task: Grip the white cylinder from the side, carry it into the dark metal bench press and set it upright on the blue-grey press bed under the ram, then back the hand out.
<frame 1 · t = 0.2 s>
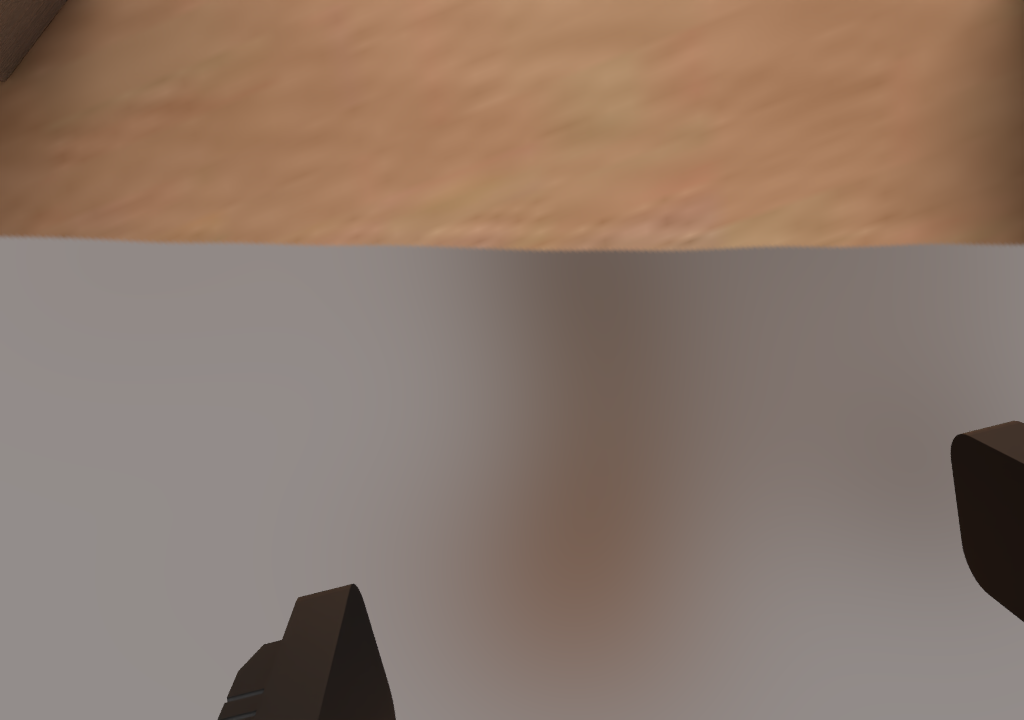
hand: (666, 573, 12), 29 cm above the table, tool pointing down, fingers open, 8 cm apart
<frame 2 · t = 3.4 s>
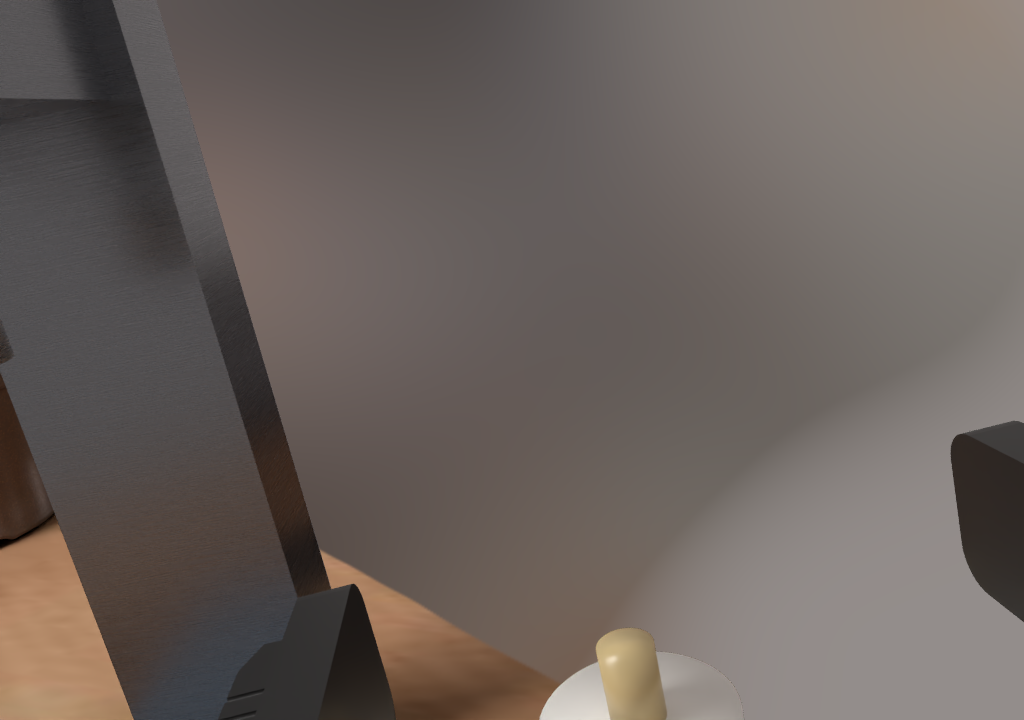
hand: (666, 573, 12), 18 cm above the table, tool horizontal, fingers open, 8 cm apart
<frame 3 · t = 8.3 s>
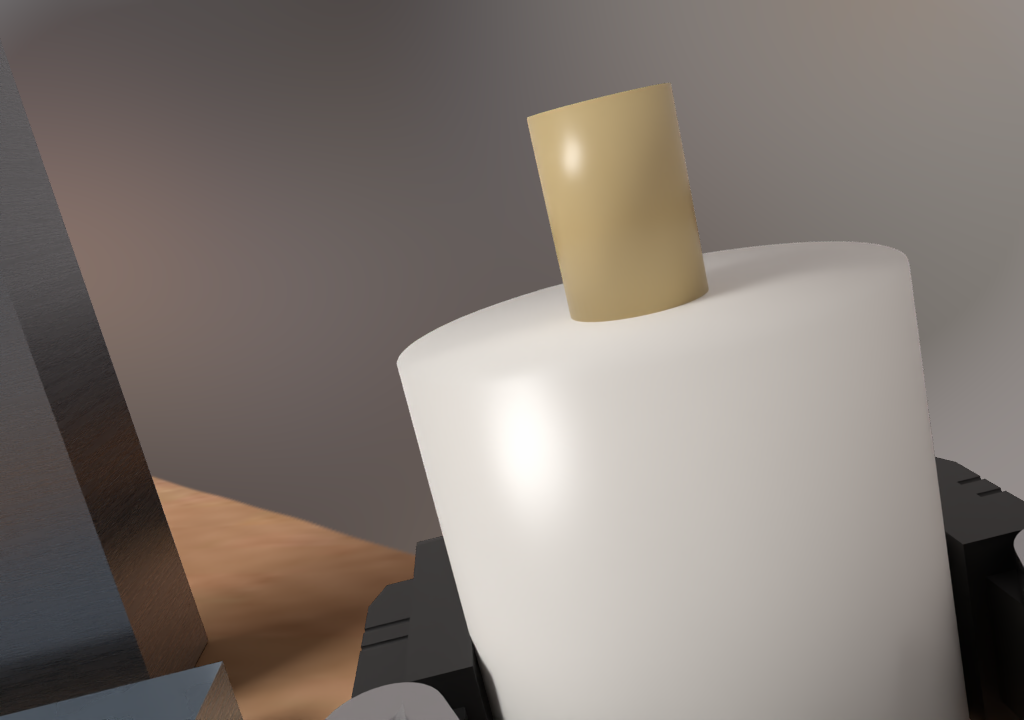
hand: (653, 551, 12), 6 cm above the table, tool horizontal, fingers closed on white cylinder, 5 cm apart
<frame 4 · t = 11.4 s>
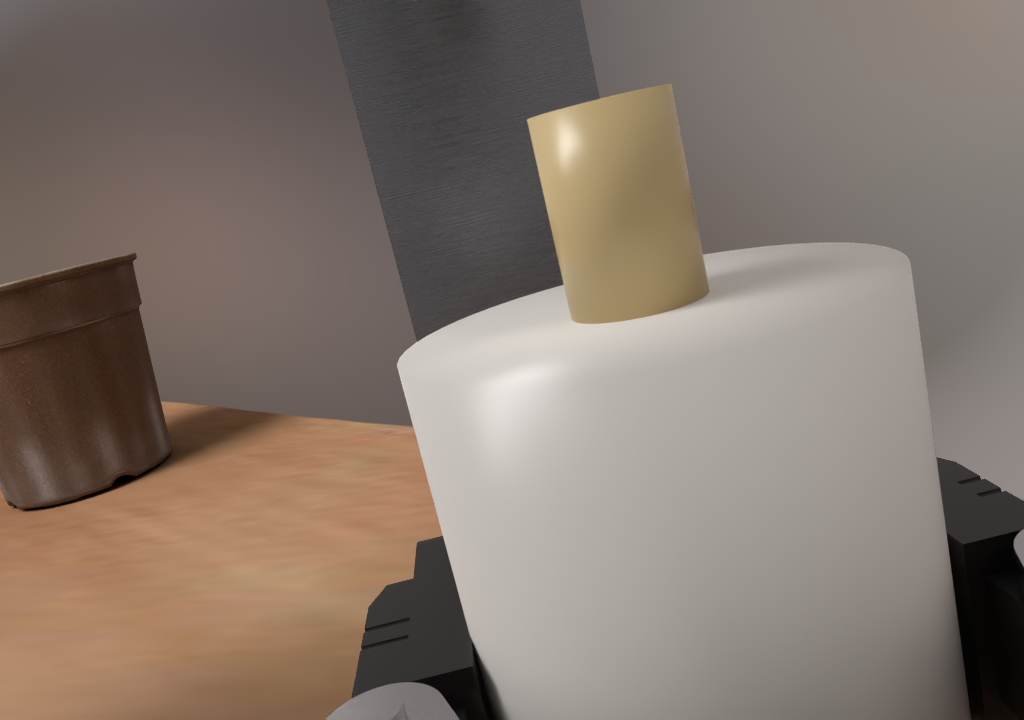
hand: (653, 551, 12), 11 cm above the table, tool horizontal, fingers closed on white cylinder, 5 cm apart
plant pot: (95, 479, 69), on the table
when the fingers open (9 cm above the table, at t = 15.0 s): white cylinder drops 1 cm, resting on press.
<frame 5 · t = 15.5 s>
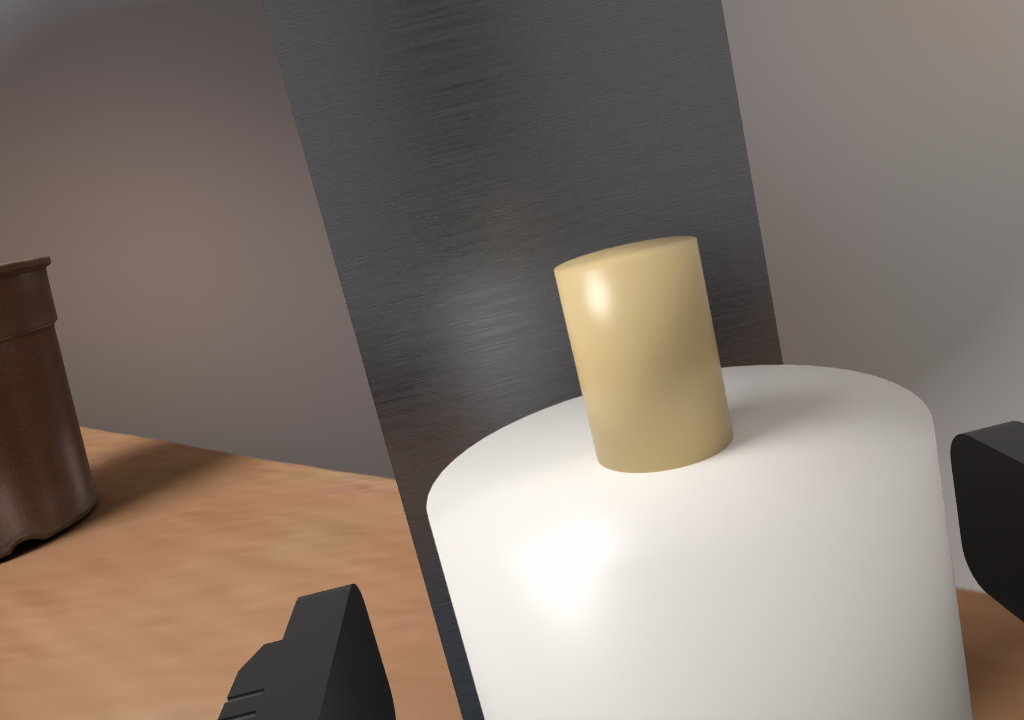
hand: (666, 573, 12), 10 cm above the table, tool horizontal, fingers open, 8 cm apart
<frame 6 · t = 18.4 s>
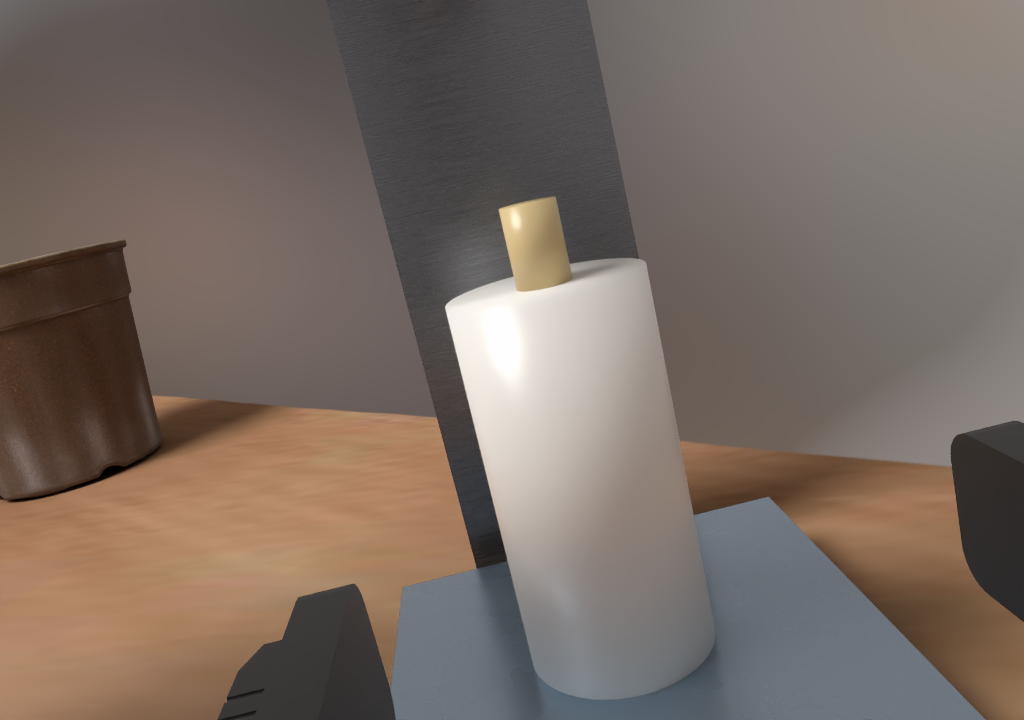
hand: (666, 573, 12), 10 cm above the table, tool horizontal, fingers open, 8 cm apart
white cylinder: (622, 640, 24), point 2 cm above the table, touching press
plant pot: (83, 471, 68), on the table
press: (636, 703, 24), on the table
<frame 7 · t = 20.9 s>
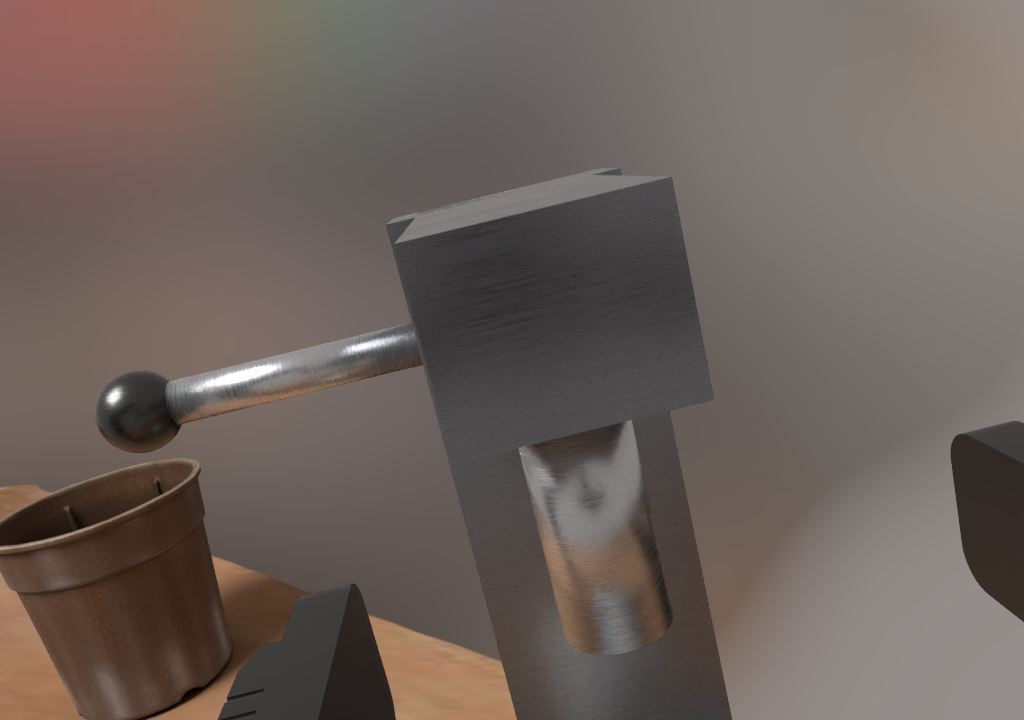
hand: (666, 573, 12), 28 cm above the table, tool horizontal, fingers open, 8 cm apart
plant pot: (159, 680, 72), on the table
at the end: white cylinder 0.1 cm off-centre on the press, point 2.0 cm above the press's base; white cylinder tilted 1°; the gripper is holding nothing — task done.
